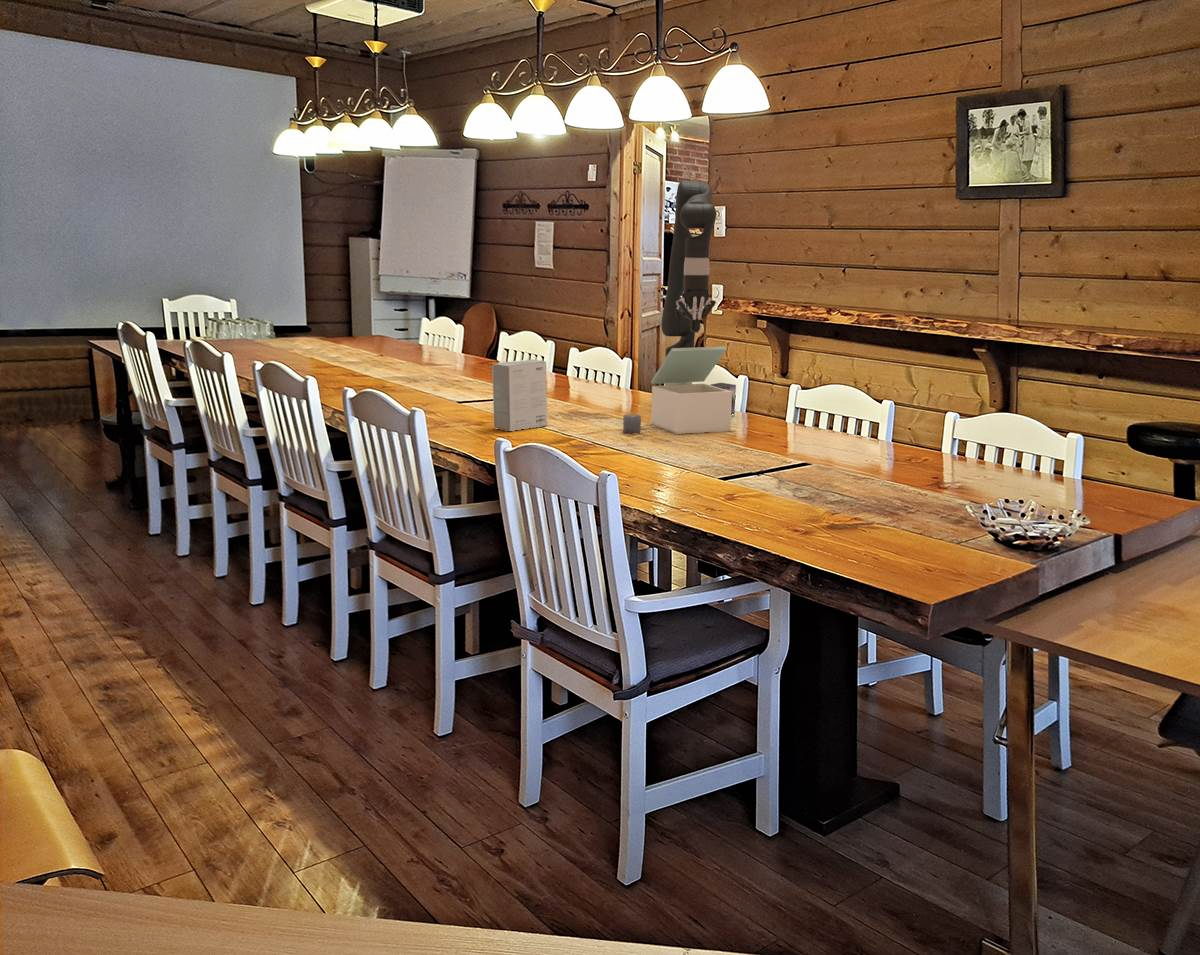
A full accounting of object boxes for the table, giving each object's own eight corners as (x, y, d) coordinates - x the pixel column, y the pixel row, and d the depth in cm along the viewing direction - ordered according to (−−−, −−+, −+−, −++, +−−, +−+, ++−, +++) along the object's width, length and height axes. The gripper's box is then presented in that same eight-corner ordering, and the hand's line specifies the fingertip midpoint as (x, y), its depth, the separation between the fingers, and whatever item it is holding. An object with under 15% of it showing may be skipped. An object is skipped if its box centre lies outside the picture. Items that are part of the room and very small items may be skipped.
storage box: (651, 424, 329) (652, 386, 327) (702, 421, 336) (704, 383, 333) (676, 434, 313) (678, 394, 310) (730, 431, 320) (732, 391, 317)
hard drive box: (531, 423, 330) (531, 359, 325) (548, 426, 324) (547, 361, 320) (492, 429, 319) (491, 362, 315) (508, 432, 314) (508, 365, 309)
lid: (651, 384, 327) (651, 381, 327) (703, 381, 333) (703, 378, 334) (672, 351, 312) (671, 348, 312) (726, 349, 318) (725, 346, 319)
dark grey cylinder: (620, 431, 318) (620, 414, 317) (636, 430, 320) (636, 413, 318) (627, 434, 313) (627, 417, 312) (643, 433, 315) (643, 416, 314)
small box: (719, 420, 339) (720, 387, 336) (701, 417, 343) (702, 385, 340) (735, 415, 347) (737, 383, 345) (718, 413, 351) (719, 382, 348)
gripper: (710, 272, 319) (708, 330, 323) (670, 273, 314) (669, 331, 318) (722, 273, 312) (720, 332, 316) (682, 274, 307) (680, 334, 311)
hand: (694, 332), depth 317 cm, fingers closed
